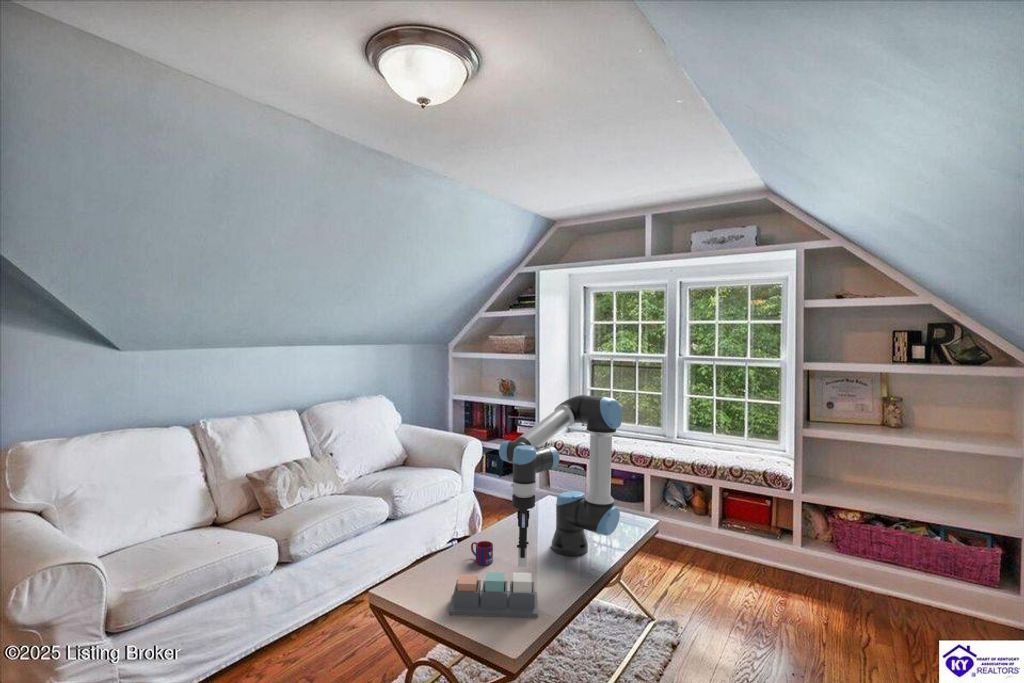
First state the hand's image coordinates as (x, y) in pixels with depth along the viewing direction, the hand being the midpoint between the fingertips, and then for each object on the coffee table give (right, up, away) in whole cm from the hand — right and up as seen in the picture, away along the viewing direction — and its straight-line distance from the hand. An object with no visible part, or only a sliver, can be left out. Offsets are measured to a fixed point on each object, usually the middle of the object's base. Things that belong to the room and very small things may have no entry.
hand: (522, 565), depth 157 cm
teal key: (-9, -9, 0) cm, 13 cm away
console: (-9, -13, 0) cm, 16 cm away
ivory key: (0, -9, 0) cm, 9 cm away
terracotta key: (-18, -10, +1) cm, 21 cm away
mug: (-15, -13, +32) cm, 37 cm away
